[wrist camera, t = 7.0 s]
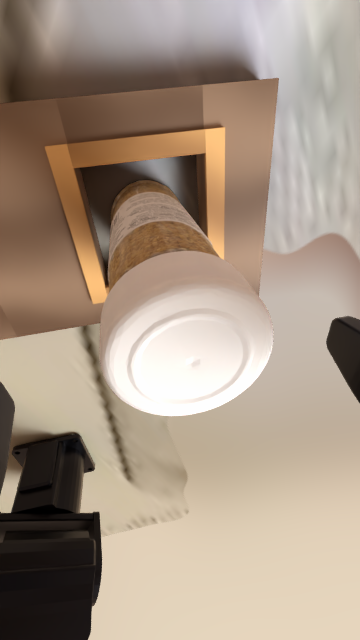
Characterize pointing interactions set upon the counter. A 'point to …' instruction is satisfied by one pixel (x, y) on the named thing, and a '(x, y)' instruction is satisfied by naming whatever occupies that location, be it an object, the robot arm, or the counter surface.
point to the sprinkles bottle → (175, 311)
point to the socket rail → (110, 148)
